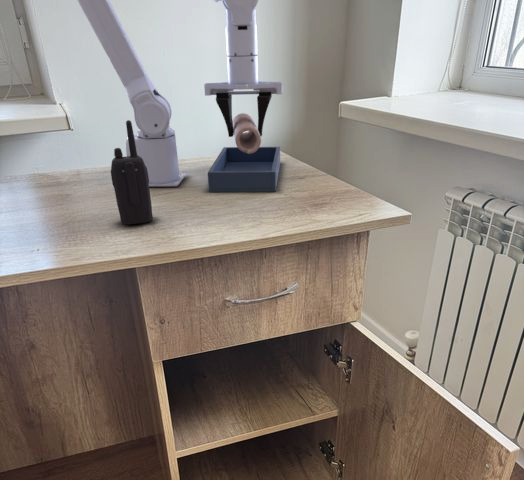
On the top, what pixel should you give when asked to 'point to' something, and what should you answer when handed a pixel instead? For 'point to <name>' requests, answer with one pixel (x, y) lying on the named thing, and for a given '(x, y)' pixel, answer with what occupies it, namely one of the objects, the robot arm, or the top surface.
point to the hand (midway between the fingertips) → (245, 135)
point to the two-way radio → (131, 184)
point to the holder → (245, 170)
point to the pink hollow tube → (247, 140)
